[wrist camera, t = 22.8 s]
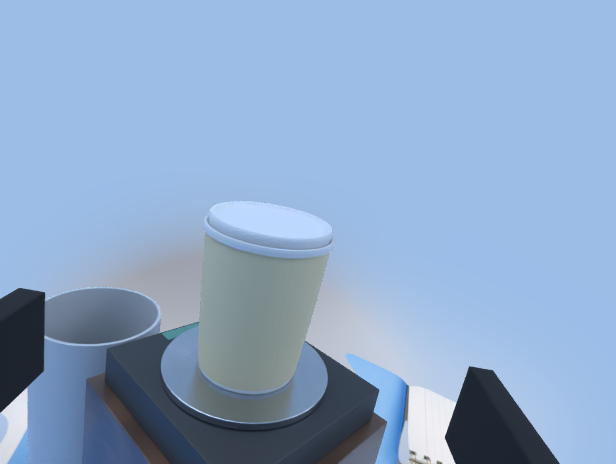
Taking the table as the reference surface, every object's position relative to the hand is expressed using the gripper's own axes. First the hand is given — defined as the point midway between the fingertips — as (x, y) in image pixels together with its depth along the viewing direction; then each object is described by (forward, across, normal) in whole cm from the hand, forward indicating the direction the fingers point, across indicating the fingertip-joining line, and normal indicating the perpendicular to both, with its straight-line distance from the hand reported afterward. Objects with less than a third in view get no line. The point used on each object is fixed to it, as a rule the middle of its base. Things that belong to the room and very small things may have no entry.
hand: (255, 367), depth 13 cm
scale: (+17, -1, -15) cm, 23 cm away
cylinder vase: (+28, -18, -42) cm, 53 cm away
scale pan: (+17, -1, -12) cm, 21 cm away
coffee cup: (+17, -1, -12) cm, 21 cm away
